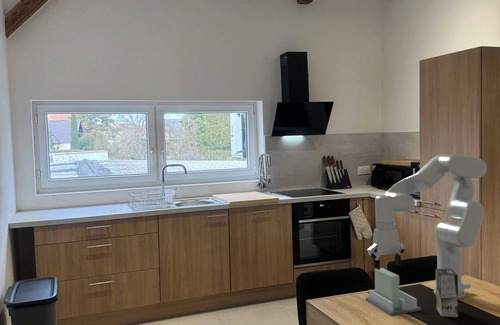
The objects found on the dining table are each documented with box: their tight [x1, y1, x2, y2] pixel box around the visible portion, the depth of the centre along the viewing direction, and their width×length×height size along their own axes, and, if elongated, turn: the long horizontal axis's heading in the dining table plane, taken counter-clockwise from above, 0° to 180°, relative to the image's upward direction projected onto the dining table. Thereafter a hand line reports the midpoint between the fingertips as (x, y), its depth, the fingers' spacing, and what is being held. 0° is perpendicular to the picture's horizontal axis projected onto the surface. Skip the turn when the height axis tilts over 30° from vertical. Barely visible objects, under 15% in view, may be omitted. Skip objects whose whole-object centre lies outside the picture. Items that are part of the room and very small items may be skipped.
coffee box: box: [435, 268, 459, 318], centre depth 172 cm, size 9×6×16 cm
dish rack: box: [365, 289, 422, 316], centre depth 182 cm, size 14×18×4 cm
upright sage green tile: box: [374, 267, 400, 309], centre depth 181 cm, size 4×12×13 cm, turn 16°
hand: (387, 267), depth 181 cm, fingers open, 9 cm apart
